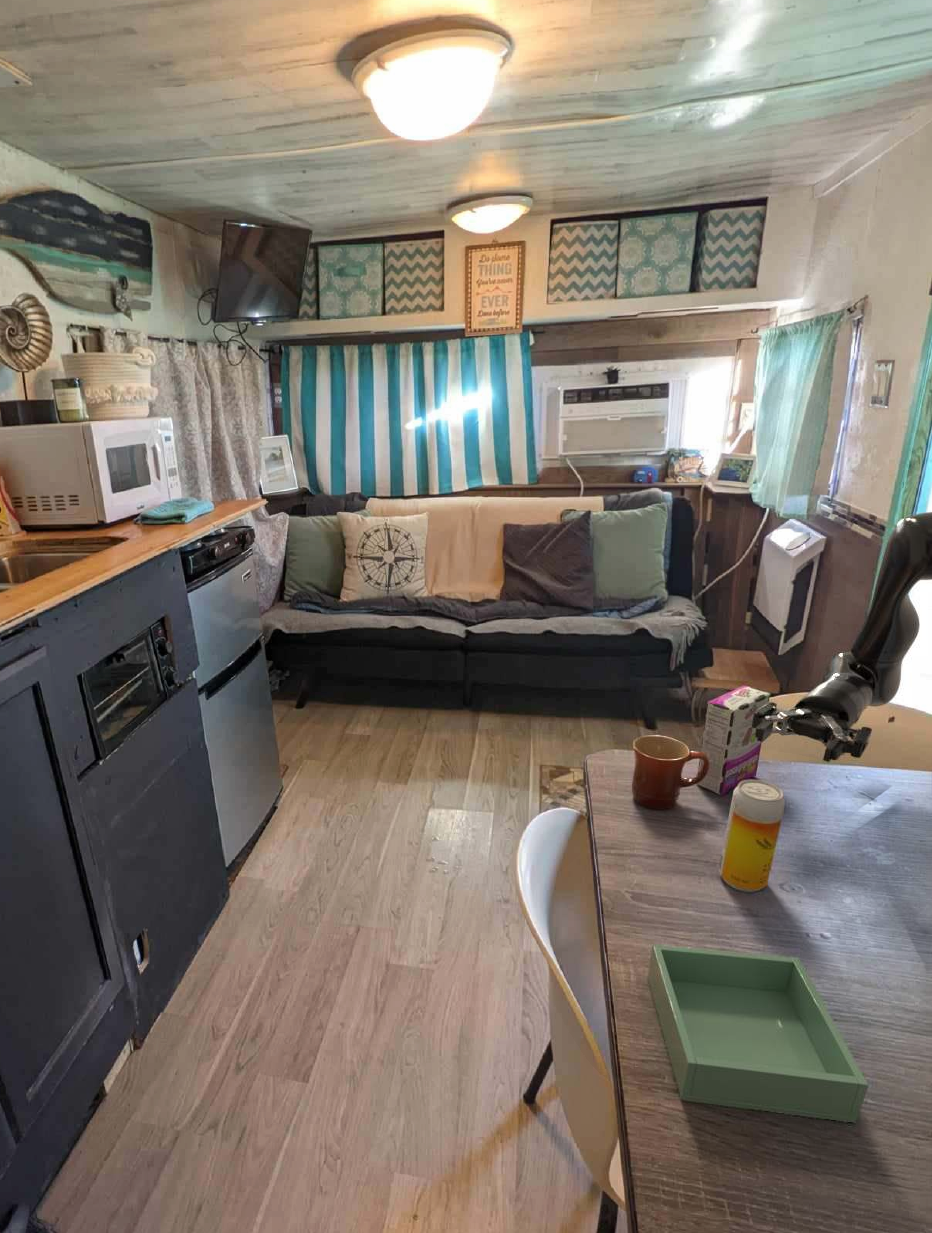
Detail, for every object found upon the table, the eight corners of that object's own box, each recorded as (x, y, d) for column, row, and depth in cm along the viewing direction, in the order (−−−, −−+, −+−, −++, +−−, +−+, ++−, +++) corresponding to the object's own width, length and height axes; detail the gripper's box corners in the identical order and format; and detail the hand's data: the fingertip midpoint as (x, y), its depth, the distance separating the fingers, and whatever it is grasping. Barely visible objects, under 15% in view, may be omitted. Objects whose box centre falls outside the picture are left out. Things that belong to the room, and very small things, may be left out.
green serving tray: (789, 992, 79) (798, 957, 77) (856, 1124, 65) (869, 1085, 63) (647, 978, 82) (652, 943, 80) (680, 1100, 68) (688, 1062, 66)
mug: (630, 812, 114) (636, 758, 111) (623, 784, 122) (629, 733, 118) (708, 818, 112) (718, 763, 108) (696, 790, 120) (704, 738, 116)
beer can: (770, 898, 94) (791, 805, 88) (720, 889, 96) (738, 797, 91) (762, 871, 99) (782, 781, 94) (715, 863, 101) (732, 775, 96)
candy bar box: (729, 765, 127) (744, 684, 121) (756, 776, 123) (773, 693, 117) (693, 784, 121) (706, 700, 115) (720, 796, 117) (735, 710, 111)
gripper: (784, 675, 111) (744, 707, 102) (890, 700, 101) (857, 738, 91) (775, 717, 114) (735, 751, 104) (878, 745, 104) (845, 786, 94)
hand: (792, 745), depth 98 cm, fingers open, 8 cm apart
